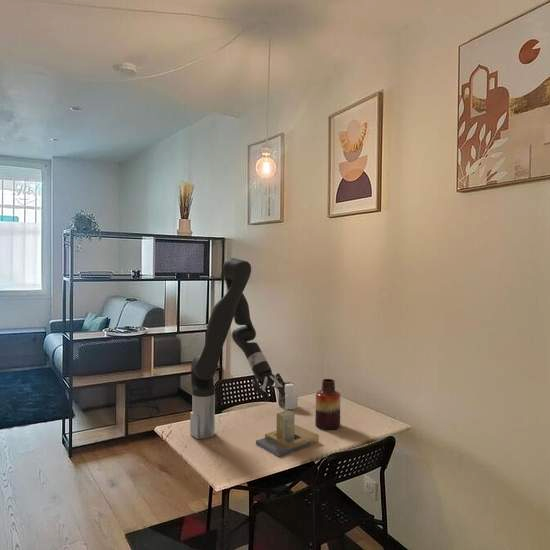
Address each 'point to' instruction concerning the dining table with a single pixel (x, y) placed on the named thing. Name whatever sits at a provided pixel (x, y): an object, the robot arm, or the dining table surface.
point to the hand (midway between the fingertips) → (275, 398)
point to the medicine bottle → (288, 397)
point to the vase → (328, 406)
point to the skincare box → (286, 425)
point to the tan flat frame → (284, 447)
